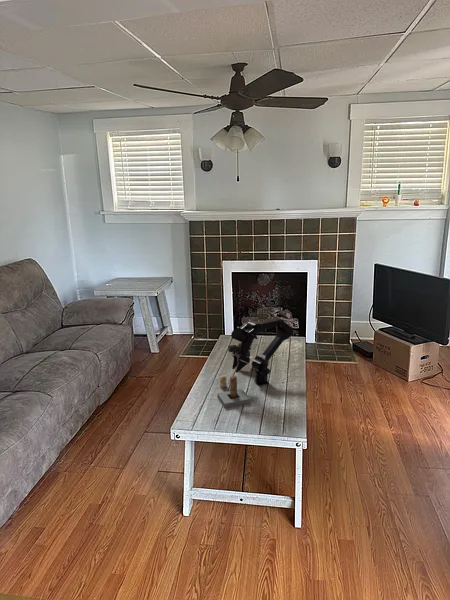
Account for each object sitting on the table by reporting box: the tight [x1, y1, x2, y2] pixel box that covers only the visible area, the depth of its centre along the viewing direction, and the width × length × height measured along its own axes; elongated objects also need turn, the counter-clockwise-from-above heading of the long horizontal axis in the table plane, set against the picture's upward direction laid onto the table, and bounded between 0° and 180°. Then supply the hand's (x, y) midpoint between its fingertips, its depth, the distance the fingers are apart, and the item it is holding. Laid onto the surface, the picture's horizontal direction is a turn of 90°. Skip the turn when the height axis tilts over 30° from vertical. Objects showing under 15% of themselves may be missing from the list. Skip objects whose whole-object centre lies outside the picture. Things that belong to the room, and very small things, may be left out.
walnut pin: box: [229, 375, 238, 399], centre depth 220 cm, size 4×4×13 cm
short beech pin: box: [219, 374, 227, 389], centre depth 236 cm, size 4×4×6 cm
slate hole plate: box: [216, 388, 251, 409], centre depth 221 cm, size 14×12×2 cm
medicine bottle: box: [239, 350, 253, 373], centre depth 257 cm, size 7×7×12 cm
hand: (234, 370), depth 228 cm, fingers open, 9 cm apart
